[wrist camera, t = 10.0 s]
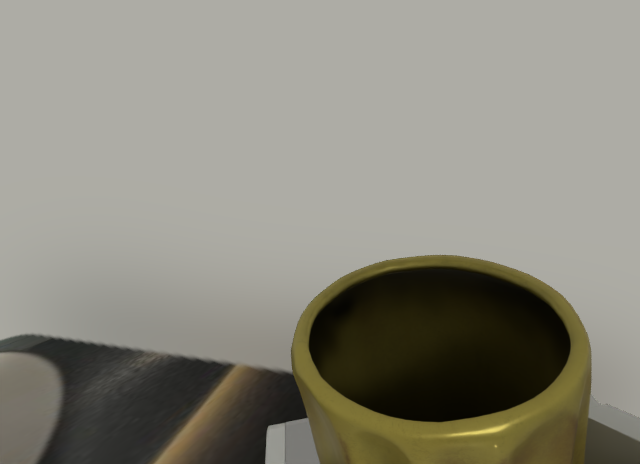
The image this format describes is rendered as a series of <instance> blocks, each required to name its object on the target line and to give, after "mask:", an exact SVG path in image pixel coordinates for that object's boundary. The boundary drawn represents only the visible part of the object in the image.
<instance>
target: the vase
mask: <svg viewBox="0 0 640 464" xmlns="http://www.w3.org/2000/svg"><path fill="white" fill-rule="evenodd" d="M291 359H292V370H293V375H294V378H295V380H296V383H297V385H298V388H299V390H300V393H301V397H302V400H303V403H304V406H305V409H306V413H307V416H308V420H309V424H310V428H311V432H312V436H313V439H314V443H315V447H316V451H317V455H318V458H319V462H320V464H584V458H585V446H586V436H587V426H588V416H589V405H590V395H591V347H590V343H589V338H588V334H587V332H586V330H585V328H584V326H583V324H582V322H581V320H580V318H579V316H578V315H577V313H576V312H575V310H574V309H573V307H572V306H571V304H570V303H569V302H568V301H567V300H566V299H565V298H564V297H563V296H562V295H561V294H560V293H558V292H557V291H556V290H554V289H553V288H552V287H550V286H549V285H547V284H545V283H544V282H542V281H540V280H538V279H537V278H535V277H533V276H530V275H529V274H526V273H523V272H521V271H518V270H516V269H512V268H509V267H507V266H503V265H500V264H497V263H494V262H490V261H484V260H480V259H474V258H469V257H462V256H453V255H430V256H429V255H428V256H416V257H407V258H399V259H392V260H386V261H382V262H379V263H375V264H373V265H369V266H367V267H364V268H361V269H359V270H356V271H354V272H351V273H349V274H347V275H345V276H343V277H342V278H340V279H338V280H337V281H335V282H334V283H332V284H331V285H330V286H329V287H327V288H326V289H325V290H323V291H322V292H321V293H320V294H319V295H318V296H316V297H315V298H314V299H313V300H312V301H311V303H310V304H309V305H308V306H307V308H306V309H305V311H304V312H303V314H302V315H301V317H300V320H299V321H298V324H297V327H296V330H295V334H294V338H293V343H292V348H291Z"/></svg>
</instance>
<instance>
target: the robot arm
mask: <svg viewBox="0 0 640 464" xmlns="http://www.w3.org/2000/svg"><path fill="white" fill-rule="evenodd" d="M265 464H320V462H319V458H318V455H317V451H316V447H315V443H314V439H313V436H312V432H311V428H310V424H309V420H308V418H305V419H300V420H295V421H289V422H286V423H281V424H276V425H271V426H268V429H267V438H266V458H265ZM584 464H640V418H639V417H636V416H634V415H632V414H629V413H627V412H625V411H622V410H620V409H618V408H615V407H613V406H611V405H608V404H605V405H601V404H600V403H599V402H598V401H597V400H596V399H595V398H594V397H593V396H592V395H590V405H589V416H588V426H587V436H586V446H585V458H584Z"/></svg>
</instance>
